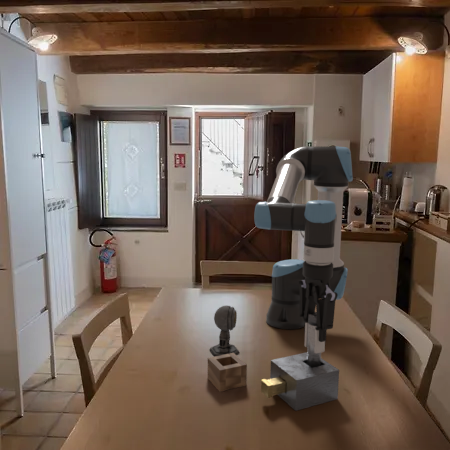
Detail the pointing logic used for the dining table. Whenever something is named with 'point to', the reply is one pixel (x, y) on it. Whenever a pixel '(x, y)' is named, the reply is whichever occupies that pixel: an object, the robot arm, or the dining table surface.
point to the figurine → (225, 330)
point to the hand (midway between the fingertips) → (314, 348)
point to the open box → (227, 371)
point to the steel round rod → (312, 342)
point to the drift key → (273, 386)
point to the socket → (305, 381)
